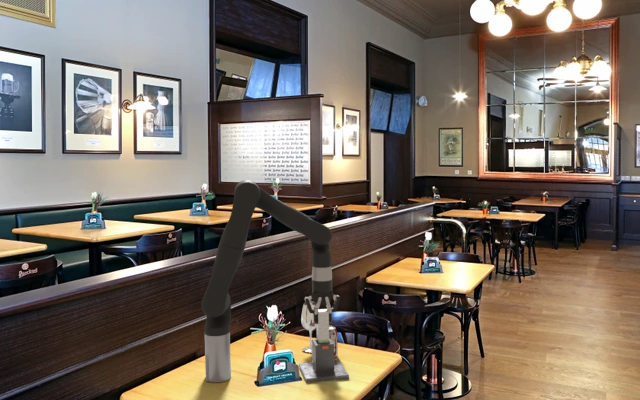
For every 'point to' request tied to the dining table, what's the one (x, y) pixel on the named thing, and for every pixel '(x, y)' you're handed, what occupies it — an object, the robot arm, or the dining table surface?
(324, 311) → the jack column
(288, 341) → the dining table surface
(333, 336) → the soda can
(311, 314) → the wineglass
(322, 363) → the stand base
